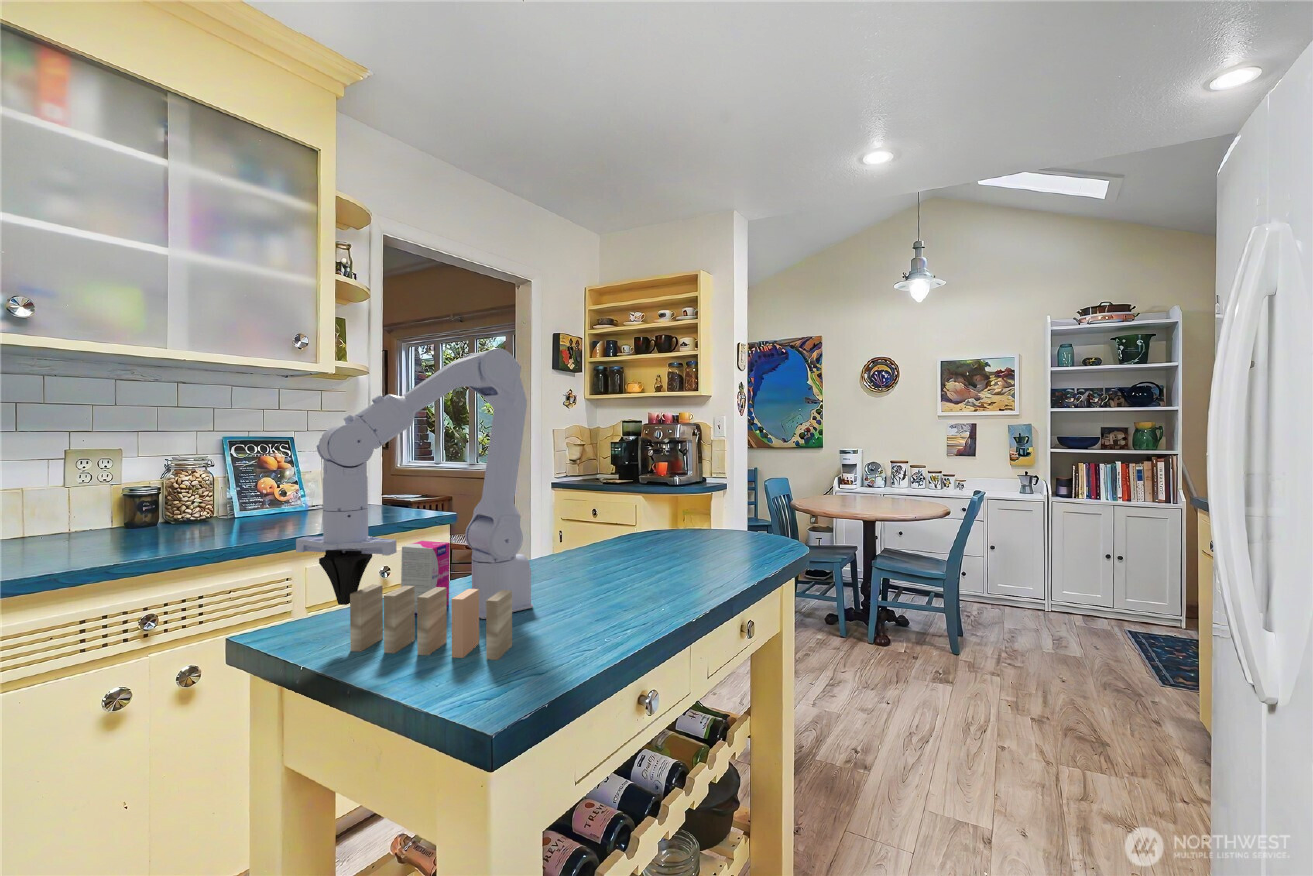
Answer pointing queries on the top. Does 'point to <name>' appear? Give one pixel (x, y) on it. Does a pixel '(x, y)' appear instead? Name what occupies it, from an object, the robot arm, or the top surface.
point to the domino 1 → (366, 617)
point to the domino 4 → (465, 622)
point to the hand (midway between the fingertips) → (346, 602)
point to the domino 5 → (498, 624)
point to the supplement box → (426, 567)
